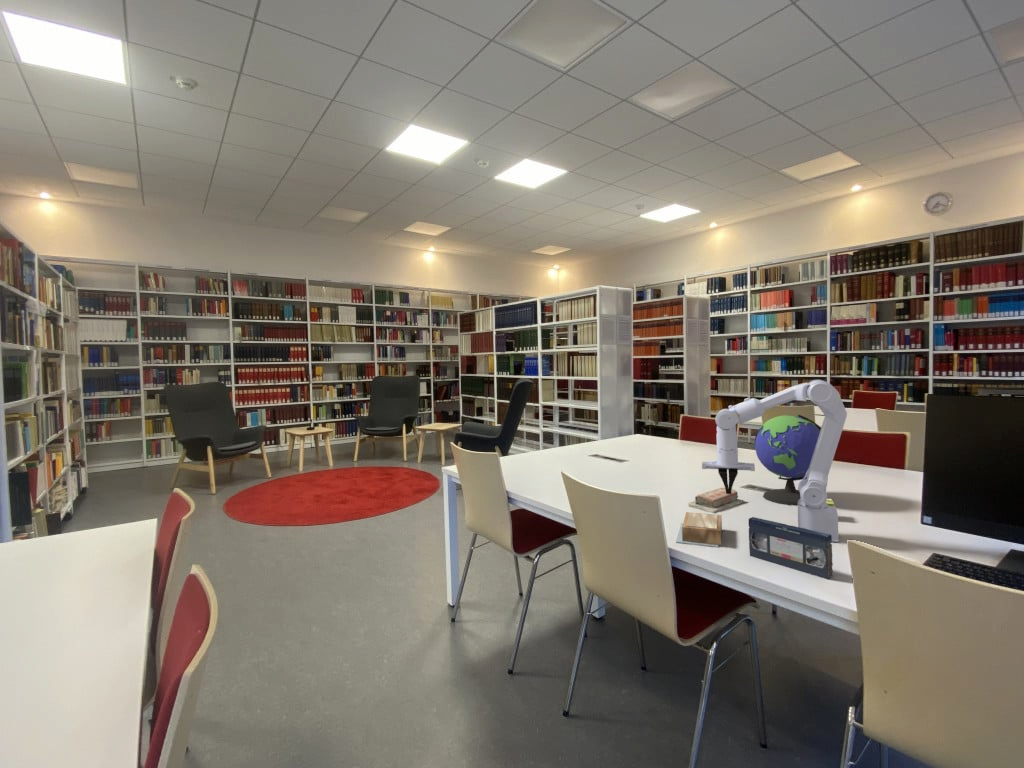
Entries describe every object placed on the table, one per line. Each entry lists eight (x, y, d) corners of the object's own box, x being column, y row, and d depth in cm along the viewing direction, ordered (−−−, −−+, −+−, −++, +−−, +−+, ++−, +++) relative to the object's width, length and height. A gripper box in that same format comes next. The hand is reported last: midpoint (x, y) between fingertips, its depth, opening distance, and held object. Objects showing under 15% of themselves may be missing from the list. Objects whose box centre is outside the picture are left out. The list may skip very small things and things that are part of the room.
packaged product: (717, 485, 175) (743, 490, 167) (718, 497, 175) (744, 503, 167) (687, 494, 165) (713, 500, 157) (687, 507, 165) (713, 514, 157)
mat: (719, 527, 143) (719, 526, 143) (718, 547, 129) (718, 546, 129) (681, 524, 148) (681, 523, 148) (675, 542, 133) (675, 541, 133)
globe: (775, 486, 185) (774, 410, 183) (839, 498, 166) (837, 414, 165) (742, 497, 173) (740, 416, 171) (807, 512, 154) (805, 420, 153)
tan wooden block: (721, 514, 142) (686, 511, 146) (720, 530, 129) (681, 526, 133) (721, 528, 142) (686, 524, 146) (721, 545, 129) (682, 541, 134)
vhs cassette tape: (748, 556, 123) (747, 518, 122) (754, 553, 124) (753, 515, 124) (827, 580, 108) (827, 537, 107) (833, 577, 109) (832, 534, 109)
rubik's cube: (834, 521, 145) (834, 503, 144) (813, 519, 147) (813, 502, 147) (831, 516, 149) (831, 498, 149) (811, 514, 152) (810, 497, 152)
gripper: (753, 447, 144) (754, 491, 144) (701, 445, 150) (703, 488, 150) (754, 451, 137) (756, 497, 138) (701, 450, 143) (702, 494, 144)
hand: (728, 493), depth 144 cm, fingers closed
